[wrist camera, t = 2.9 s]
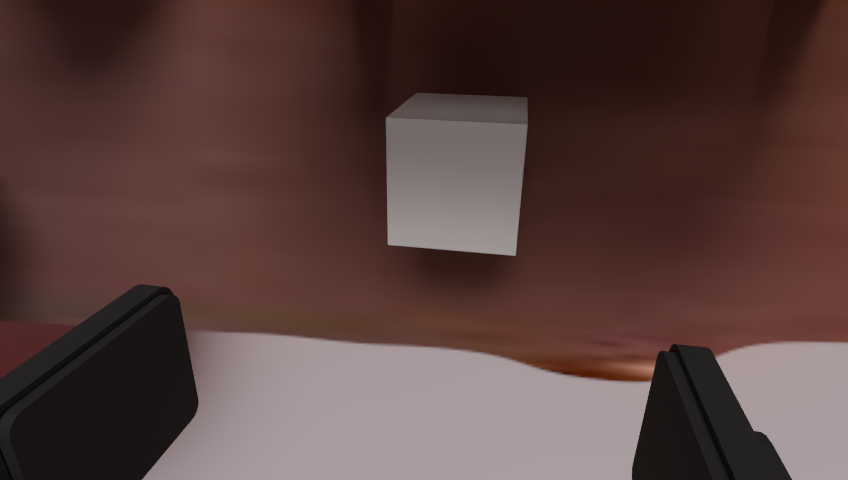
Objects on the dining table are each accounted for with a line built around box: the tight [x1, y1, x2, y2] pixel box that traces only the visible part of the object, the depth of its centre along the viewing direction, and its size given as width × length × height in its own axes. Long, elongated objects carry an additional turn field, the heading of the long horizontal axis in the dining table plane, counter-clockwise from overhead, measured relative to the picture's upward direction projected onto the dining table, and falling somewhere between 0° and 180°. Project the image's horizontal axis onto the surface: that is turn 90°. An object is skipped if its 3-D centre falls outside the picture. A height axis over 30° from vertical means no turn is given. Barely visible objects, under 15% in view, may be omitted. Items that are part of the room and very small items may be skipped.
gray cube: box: [386, 93, 528, 256], centre depth 22 cm, size 5×5×6 cm
